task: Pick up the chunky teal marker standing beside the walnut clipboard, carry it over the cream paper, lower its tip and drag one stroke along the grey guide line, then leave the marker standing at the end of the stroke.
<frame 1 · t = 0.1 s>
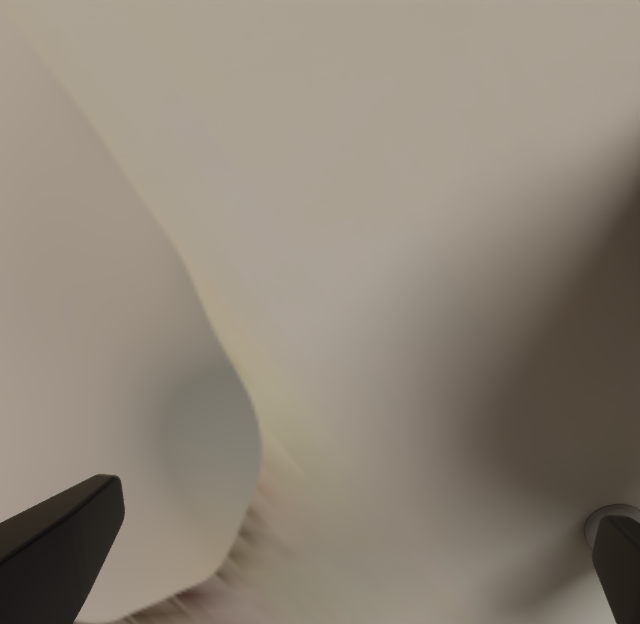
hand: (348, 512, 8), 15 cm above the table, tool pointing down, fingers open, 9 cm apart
marker: (615, 529, 24), on the table
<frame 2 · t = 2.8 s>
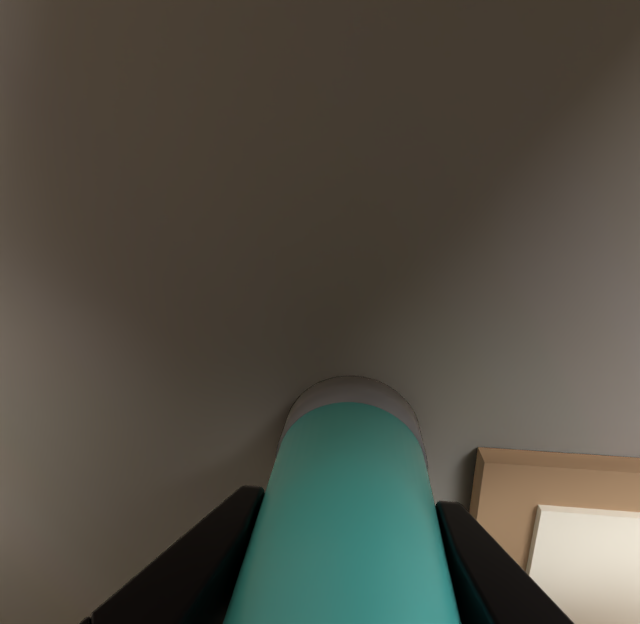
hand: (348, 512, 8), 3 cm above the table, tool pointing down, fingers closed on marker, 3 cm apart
marker: (351, 438, 11), on the table, touching gripper
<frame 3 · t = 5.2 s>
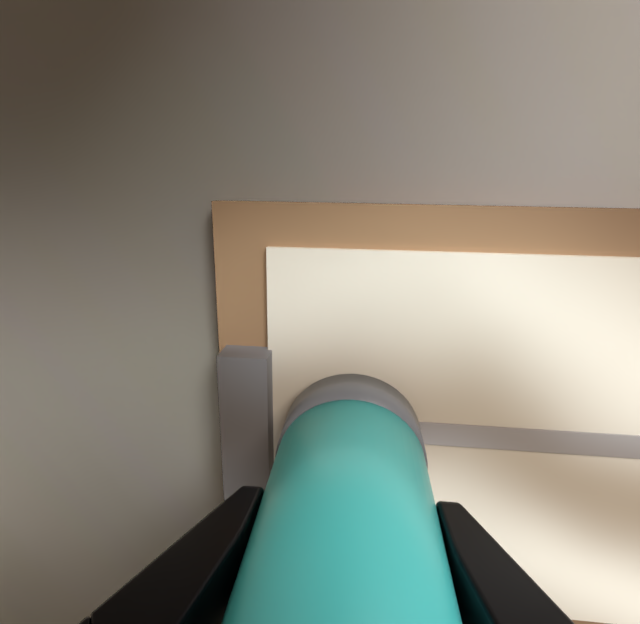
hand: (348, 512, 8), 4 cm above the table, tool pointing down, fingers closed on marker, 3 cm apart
clipboard: (486, 437, 12), on the table
marker: (351, 436, 11), point 1 cm above the table, touching gripper
when the fingers open (4 cm above the table, at t = 8.0 s): marker stays where it is, resting on clipboard.
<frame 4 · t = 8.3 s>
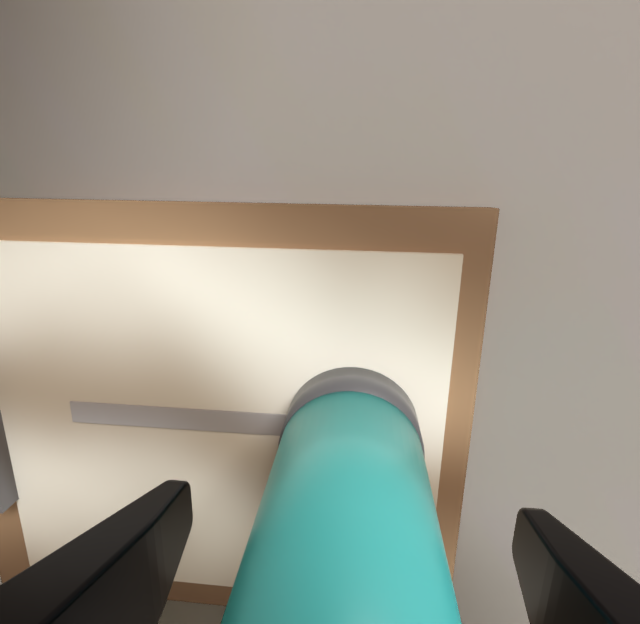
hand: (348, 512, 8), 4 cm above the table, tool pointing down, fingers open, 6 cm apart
clipboard: (210, 420, 12), on the table
marker: (351, 427, 11), point 1 cm above the table, touching clipboard
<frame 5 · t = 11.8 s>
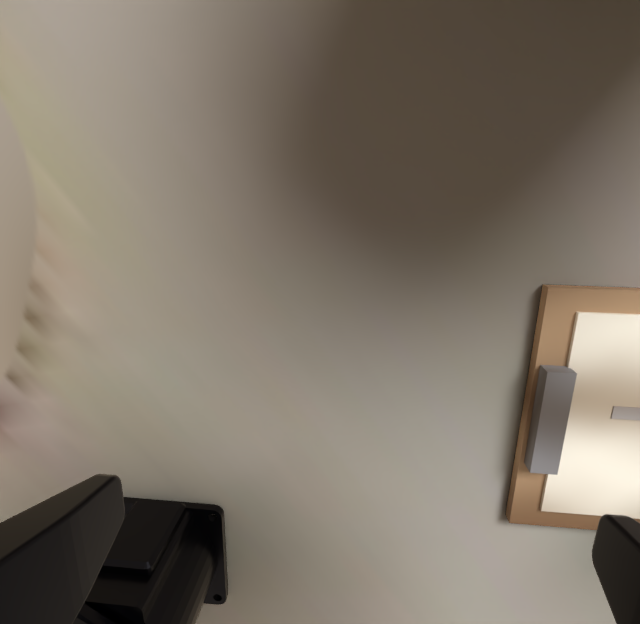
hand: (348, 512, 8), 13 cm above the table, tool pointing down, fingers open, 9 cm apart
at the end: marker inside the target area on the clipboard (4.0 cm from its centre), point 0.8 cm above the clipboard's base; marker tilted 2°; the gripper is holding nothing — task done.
